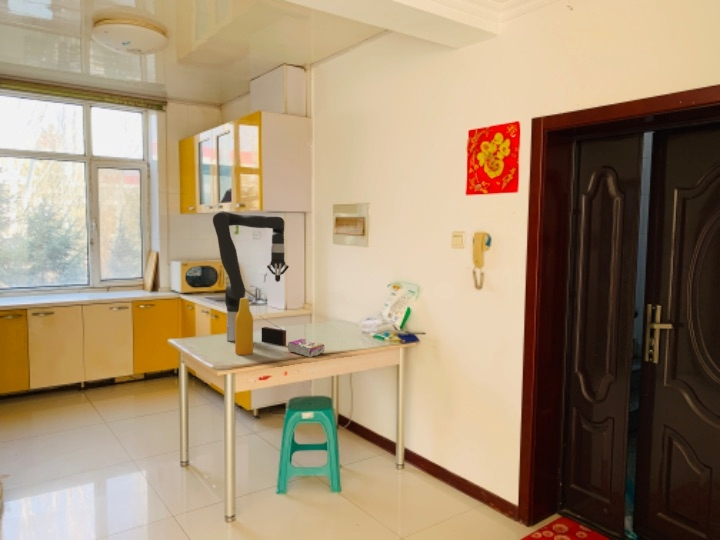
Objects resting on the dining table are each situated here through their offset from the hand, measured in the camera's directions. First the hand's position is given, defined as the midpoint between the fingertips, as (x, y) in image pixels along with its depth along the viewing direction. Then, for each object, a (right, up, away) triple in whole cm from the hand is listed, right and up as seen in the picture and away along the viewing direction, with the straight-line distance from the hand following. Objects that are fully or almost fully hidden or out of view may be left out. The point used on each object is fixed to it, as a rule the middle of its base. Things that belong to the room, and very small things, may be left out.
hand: (277, 281), depth 302 cm
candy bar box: (+12, -33, -18) cm, 40 cm away
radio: (-3, -36, -2) cm, 36 cm away
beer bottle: (-13, -37, -27) cm, 48 cm away
